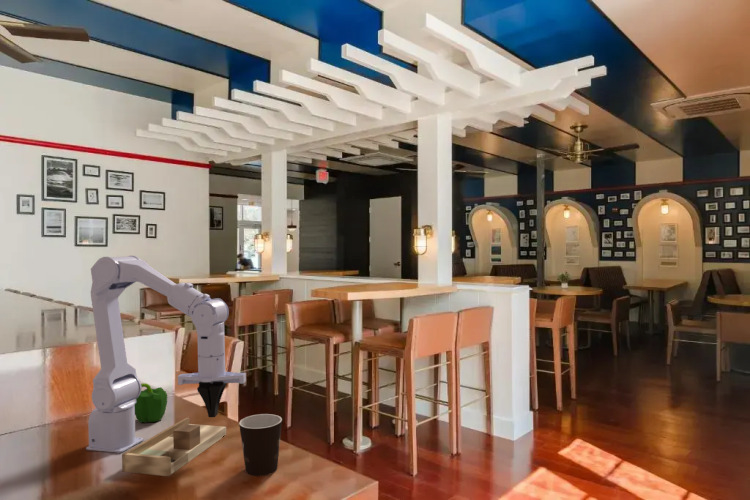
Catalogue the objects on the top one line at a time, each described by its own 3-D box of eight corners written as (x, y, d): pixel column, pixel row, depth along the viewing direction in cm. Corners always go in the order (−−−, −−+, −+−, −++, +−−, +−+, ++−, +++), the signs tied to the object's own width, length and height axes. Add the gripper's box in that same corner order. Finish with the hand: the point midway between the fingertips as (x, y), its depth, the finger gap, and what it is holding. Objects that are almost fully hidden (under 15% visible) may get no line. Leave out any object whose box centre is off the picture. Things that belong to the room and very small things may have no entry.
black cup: (273, 480, 102) (272, 429, 102) (232, 476, 104) (231, 427, 104) (294, 456, 113) (293, 410, 113) (257, 453, 115) (256, 408, 115)
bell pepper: (172, 414, 143) (171, 378, 143) (161, 424, 134) (160, 386, 134) (141, 415, 142) (140, 379, 142) (128, 426, 134) (127, 387, 134)
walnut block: (173, 448, 113) (173, 430, 113) (184, 441, 117) (184, 424, 117) (189, 450, 113) (189, 431, 112) (200, 443, 116) (199, 425, 116)
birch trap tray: (122, 471, 107) (121, 454, 107) (186, 431, 129) (186, 417, 129) (168, 476, 104) (168, 458, 104) (226, 434, 127) (226, 420, 127)
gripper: (171, 359, 111) (173, 422, 111) (239, 358, 111) (240, 421, 111) (184, 352, 118) (185, 411, 118) (247, 351, 118) (249, 410, 118)
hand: (213, 415), depth 115 cm, fingers closed
